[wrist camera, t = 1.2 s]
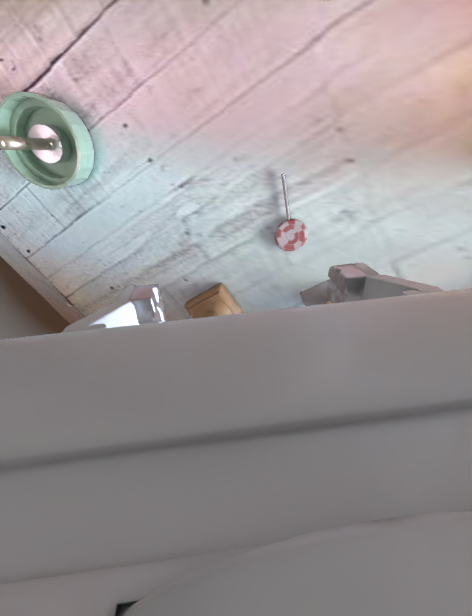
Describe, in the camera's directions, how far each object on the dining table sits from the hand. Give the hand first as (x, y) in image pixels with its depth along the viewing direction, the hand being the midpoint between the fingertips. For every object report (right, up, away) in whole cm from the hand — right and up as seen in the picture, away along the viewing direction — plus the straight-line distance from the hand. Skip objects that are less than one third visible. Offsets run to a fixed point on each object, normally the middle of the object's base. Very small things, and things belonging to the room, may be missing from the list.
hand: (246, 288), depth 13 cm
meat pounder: (-34, +30, +37) cm, 59 cm away
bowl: (-34, +30, +37) cm, 59 cm away
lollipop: (+10, +18, +41) cm, 46 cm away
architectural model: (+24, +1, +50) cm, 56 cm away
